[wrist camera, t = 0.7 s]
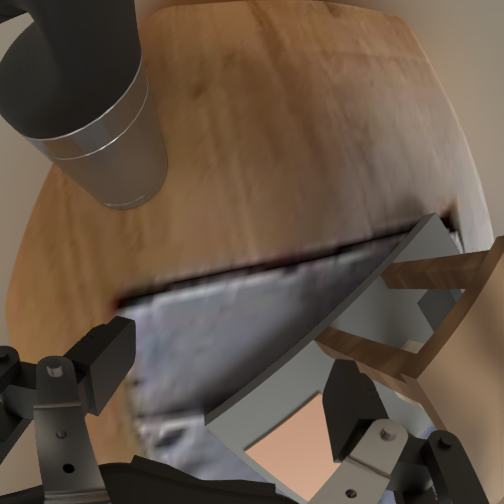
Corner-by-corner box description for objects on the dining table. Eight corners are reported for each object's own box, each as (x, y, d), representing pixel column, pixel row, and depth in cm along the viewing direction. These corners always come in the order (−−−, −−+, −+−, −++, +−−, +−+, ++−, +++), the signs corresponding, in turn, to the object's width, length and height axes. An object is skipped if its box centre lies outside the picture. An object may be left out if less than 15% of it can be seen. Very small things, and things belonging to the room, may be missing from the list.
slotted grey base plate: (316, 508, 30) (322, 519, 27) (204, 416, 29) (204, 427, 26) (485, 332, 36) (497, 333, 33) (424, 216, 36) (437, 211, 33)
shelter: (407, 454, 30) (490, 511, 13) (307, 332, 29) (416, 379, 12) (463, 389, 32) (555, 417, 15) (386, 255, 31) (512, 233, 15)
